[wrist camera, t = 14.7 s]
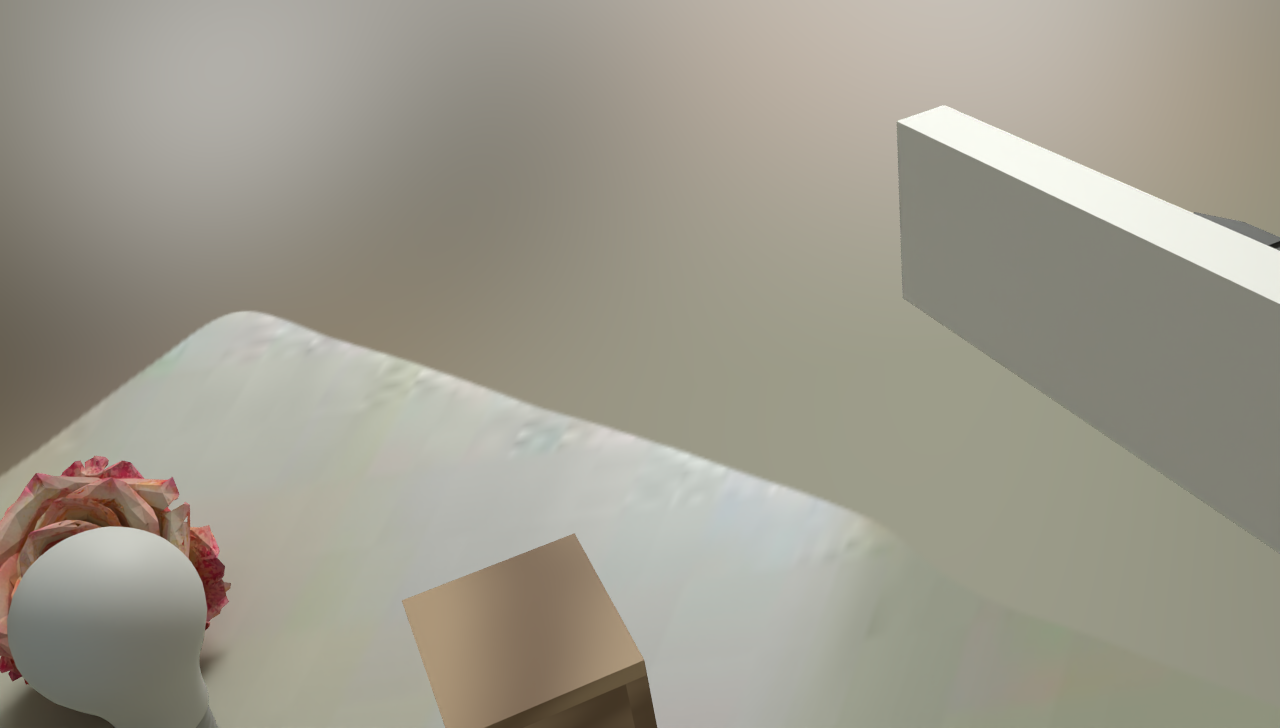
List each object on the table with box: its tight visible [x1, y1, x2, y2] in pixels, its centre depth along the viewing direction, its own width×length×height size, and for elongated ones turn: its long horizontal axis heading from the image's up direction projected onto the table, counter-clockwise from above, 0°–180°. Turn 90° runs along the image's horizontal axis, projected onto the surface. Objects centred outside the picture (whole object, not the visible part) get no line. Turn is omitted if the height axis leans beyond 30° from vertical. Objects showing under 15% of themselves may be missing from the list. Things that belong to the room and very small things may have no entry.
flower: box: [0, 456, 231, 713], centre depth 47 cm, size 10×9×8 cm
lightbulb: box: [7, 526, 218, 728], centre depth 41 cm, size 6×6×11 cm
